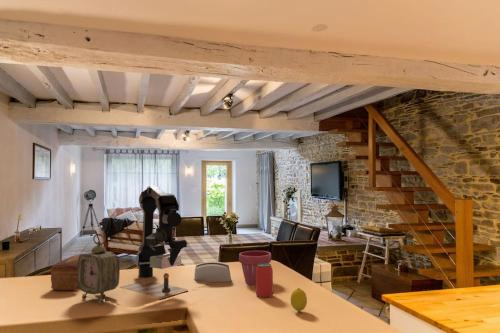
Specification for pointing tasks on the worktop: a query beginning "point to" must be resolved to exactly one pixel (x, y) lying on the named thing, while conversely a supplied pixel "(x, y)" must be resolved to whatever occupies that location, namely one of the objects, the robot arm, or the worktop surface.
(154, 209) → the robot arm
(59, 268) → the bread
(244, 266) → the plant pot
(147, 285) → the board
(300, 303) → the lemon
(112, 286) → the tabletop clock
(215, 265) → the grey rounded block
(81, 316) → the worktop surface
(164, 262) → the hollow metal box
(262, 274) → the beer can
